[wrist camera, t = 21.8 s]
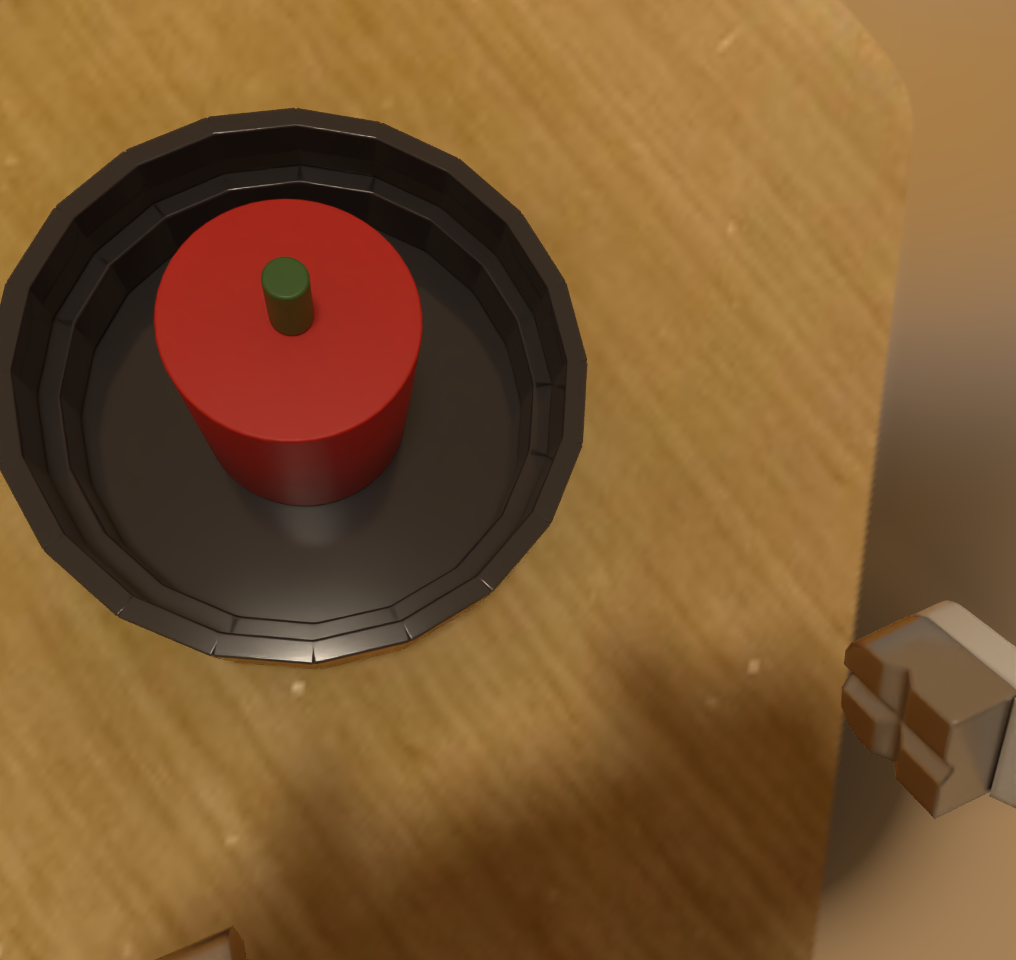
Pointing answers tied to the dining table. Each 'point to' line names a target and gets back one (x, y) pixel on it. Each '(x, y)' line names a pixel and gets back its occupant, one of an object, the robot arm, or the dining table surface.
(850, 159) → the dining table surface
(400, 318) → the pepper
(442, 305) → the pan
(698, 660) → the dining table surface
